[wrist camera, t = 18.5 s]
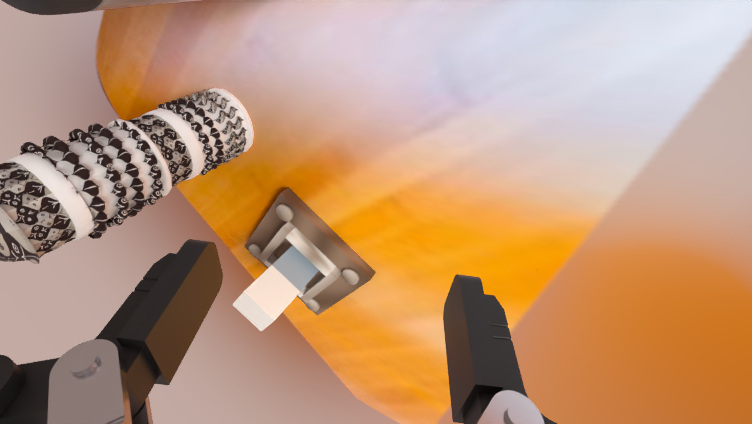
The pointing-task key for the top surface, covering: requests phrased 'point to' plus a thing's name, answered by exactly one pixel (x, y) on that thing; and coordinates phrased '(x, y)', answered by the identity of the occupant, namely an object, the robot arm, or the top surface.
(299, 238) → the socket plate
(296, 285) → the post
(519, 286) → the top surface
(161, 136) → the decorative candle
